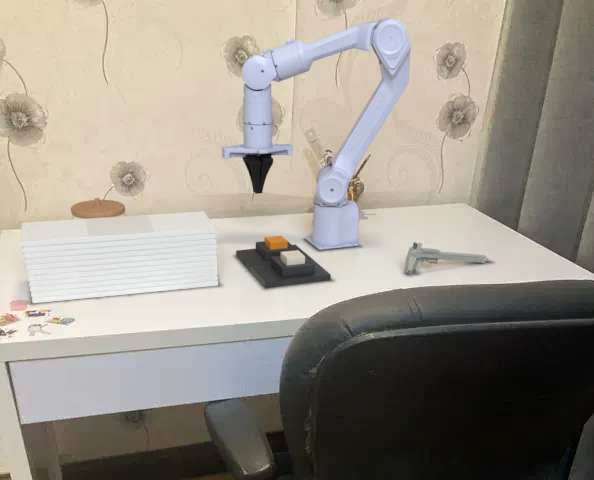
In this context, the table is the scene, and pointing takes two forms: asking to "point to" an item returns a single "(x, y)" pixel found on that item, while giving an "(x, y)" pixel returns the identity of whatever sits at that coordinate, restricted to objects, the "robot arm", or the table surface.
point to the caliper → (436, 257)
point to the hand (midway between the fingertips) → (257, 192)
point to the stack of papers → (119, 255)
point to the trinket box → (97, 209)
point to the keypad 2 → (289, 273)
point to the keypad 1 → (263, 254)
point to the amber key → (276, 242)
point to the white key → (292, 257)
